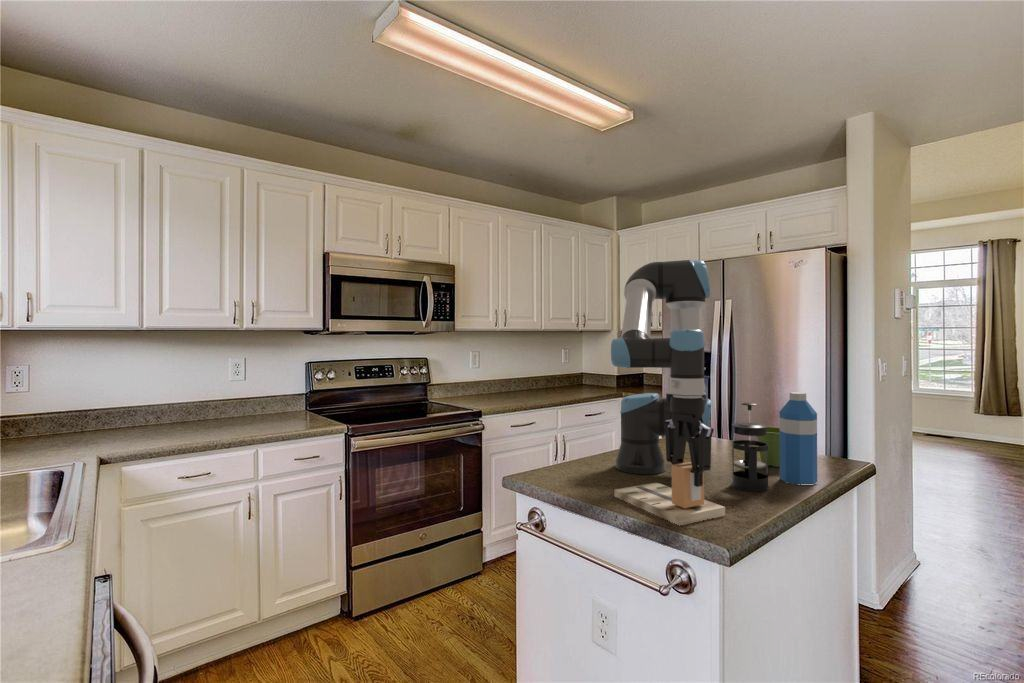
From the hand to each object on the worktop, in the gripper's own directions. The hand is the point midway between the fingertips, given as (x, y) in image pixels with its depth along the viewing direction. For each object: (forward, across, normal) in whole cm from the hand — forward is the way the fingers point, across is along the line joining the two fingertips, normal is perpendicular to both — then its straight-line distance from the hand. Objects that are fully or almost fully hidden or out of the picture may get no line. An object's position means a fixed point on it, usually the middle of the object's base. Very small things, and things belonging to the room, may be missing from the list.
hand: (687, 496), depth 120 cm
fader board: (+4, -7, 0) cm, 8 cm away
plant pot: (+4, -22, +59) cm, 63 cm away
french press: (+4, -8, +31) cm, 32 cm away
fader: (+2, 0, 0) cm, 2 cm away
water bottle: (+4, -6, +48) cm, 49 cm away
